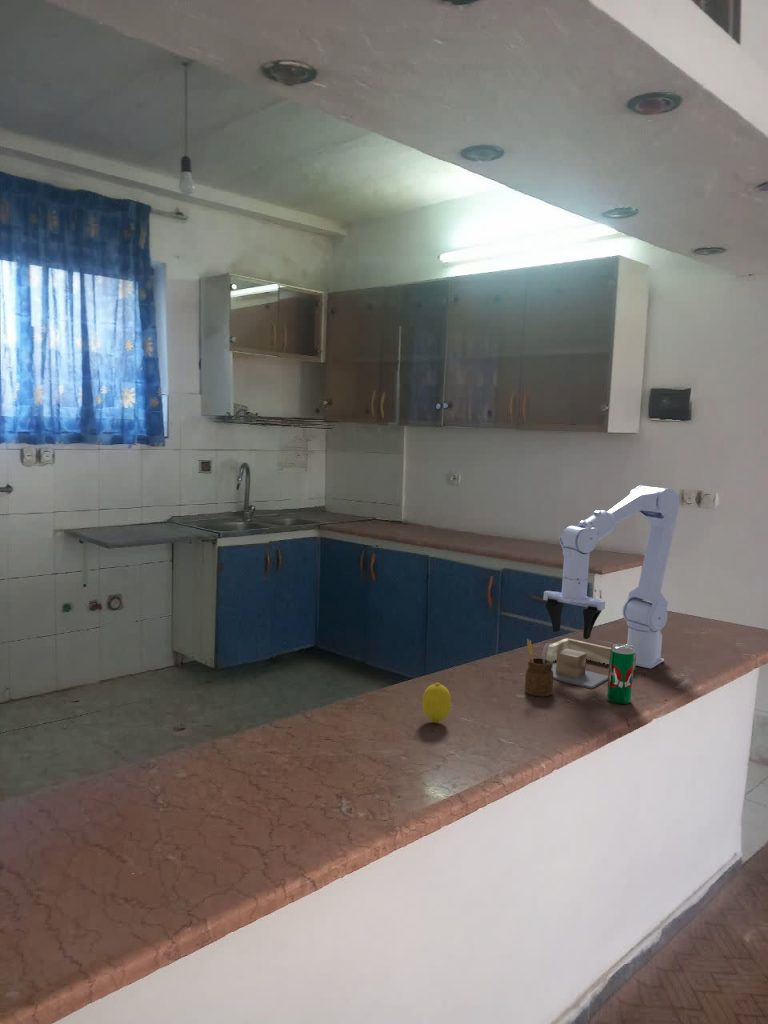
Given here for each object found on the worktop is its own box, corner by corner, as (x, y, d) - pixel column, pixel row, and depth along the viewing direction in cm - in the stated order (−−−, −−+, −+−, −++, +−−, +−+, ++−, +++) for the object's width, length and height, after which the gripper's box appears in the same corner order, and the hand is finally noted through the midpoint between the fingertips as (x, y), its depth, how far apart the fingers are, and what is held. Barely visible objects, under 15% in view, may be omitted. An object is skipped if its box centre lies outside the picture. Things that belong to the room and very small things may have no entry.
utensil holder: (557, 696, 168) (561, 641, 166) (532, 698, 165) (535, 643, 164) (543, 687, 173) (546, 634, 172) (518, 689, 171) (521, 636, 170)
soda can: (628, 697, 168) (632, 643, 167) (633, 706, 163) (637, 650, 162) (604, 695, 169) (608, 642, 167) (608, 704, 164) (613, 648, 162)
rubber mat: (551, 663, 190) (551, 661, 190) (609, 678, 181) (610, 676, 181) (531, 673, 182) (531, 671, 182) (591, 688, 173) (591, 686, 173)
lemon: (453, 720, 151) (456, 681, 150) (443, 730, 146) (446, 689, 145) (427, 715, 153) (429, 676, 152) (416, 724, 148) (418, 684, 147)
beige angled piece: (565, 653, 200) (566, 637, 199) (635, 669, 188) (636, 653, 188) (546, 661, 192) (547, 645, 192) (618, 679, 181) (619, 662, 180)
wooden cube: (565, 668, 185) (566, 648, 185) (585, 673, 182) (586, 653, 181) (555, 673, 181) (557, 652, 181) (575, 678, 178) (577, 657, 178)
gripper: (538, 575, 182) (535, 631, 184) (597, 585, 173) (593, 644, 175) (552, 571, 188) (549, 626, 189) (610, 580, 179) (606, 638, 180)
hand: (571, 634), depth 182 cm, fingers open, 7 cm apart
